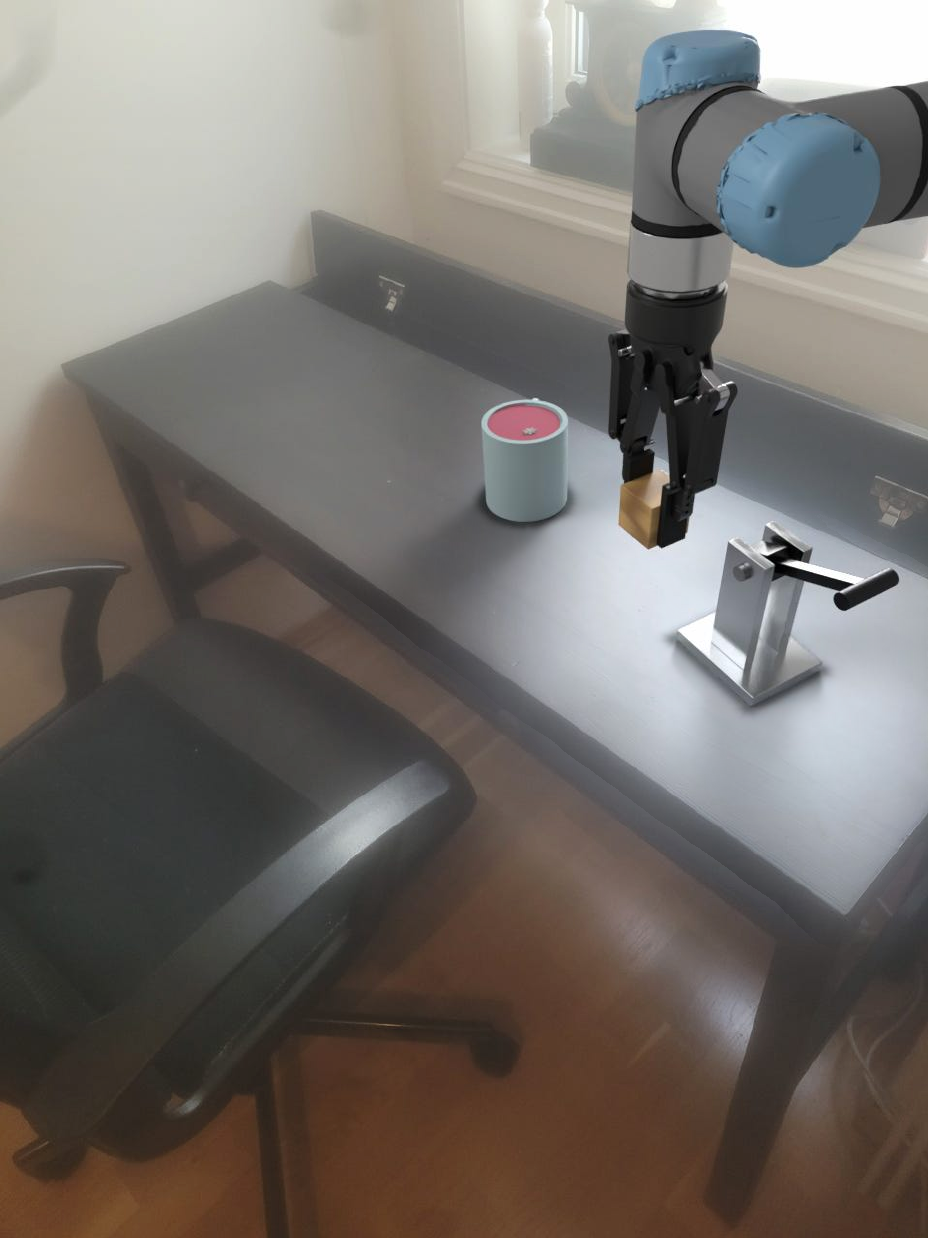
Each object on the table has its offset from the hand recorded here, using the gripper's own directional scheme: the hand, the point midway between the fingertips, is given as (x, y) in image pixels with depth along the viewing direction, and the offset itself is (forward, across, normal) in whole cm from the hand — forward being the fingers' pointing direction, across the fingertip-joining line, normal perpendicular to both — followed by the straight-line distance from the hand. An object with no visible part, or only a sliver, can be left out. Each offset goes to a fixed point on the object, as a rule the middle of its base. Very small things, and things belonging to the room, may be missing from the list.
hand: (652, 526), depth 81 cm
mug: (+8, +22, 0) cm, 23 cm away
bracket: (+8, -12, -2) cm, 15 cm away
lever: (-4, -17, -2) cm, 17 cm away
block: (0, 0, 0) cm, 0 cm away
